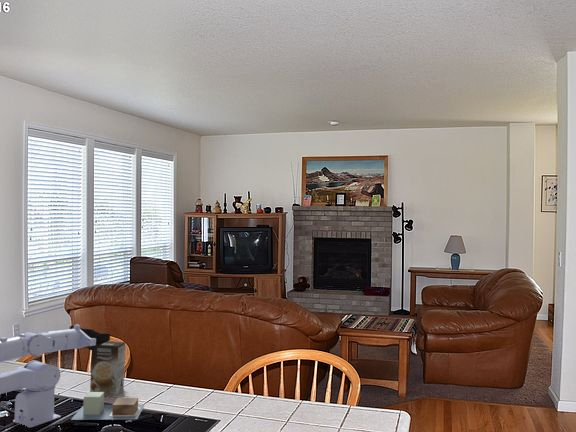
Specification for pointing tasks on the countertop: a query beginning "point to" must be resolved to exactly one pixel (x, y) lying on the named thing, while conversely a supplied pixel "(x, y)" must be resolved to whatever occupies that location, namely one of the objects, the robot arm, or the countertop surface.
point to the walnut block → (125, 406)
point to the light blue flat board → (107, 414)
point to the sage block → (93, 403)
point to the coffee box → (108, 368)
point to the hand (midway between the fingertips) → (101, 335)
